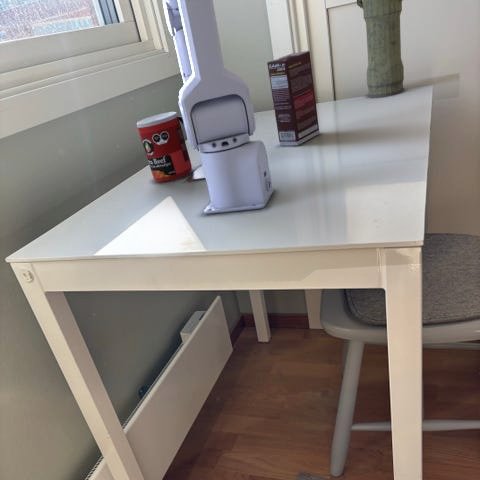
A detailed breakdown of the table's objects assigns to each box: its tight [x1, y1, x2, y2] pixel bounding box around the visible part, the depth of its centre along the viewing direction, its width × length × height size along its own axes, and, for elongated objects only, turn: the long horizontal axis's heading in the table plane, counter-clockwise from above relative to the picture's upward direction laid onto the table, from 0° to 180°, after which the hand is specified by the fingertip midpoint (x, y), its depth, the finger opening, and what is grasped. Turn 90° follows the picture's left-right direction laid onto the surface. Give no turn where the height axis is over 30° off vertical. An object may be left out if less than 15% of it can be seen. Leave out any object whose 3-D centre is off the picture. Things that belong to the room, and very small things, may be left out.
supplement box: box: [266, 50, 320, 147], centre depth 101 cm, size 9×5×16 cm, turn 141°
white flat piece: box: [185, 163, 206, 182], centre depth 97 cm, size 10×10×1 cm
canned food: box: [136, 111, 193, 183], centre depth 97 cm, size 8×8×11 cm
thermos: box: [356, 0, 405, 98], centre depth 121 cm, size 9×12×35 cm
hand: (214, 151), depth 95 cm, fingers open, 7 cm apart
